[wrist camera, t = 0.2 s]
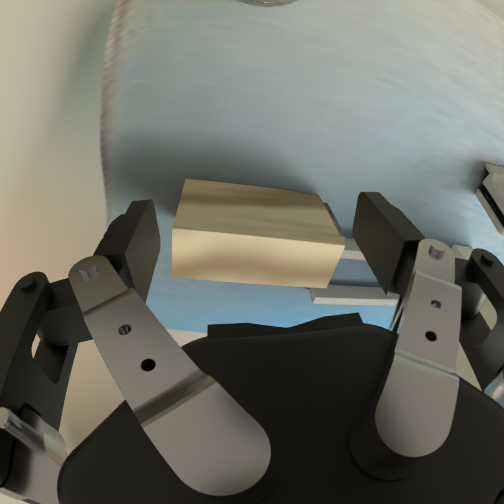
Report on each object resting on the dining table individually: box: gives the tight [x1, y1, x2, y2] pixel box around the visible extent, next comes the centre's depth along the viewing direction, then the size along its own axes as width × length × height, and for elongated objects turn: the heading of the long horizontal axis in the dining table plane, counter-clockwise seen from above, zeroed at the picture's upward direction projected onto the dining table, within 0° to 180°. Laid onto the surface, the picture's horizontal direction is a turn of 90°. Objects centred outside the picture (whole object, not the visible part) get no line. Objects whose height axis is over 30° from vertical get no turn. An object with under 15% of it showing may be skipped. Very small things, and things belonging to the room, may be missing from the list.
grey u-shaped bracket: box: [309, 238, 497, 391], centre depth 31 cm, size 12×26×22 cm, turn 80°
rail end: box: [172, 179, 345, 288], centre depth 28 cm, size 5×15×9 cm, turn 80°
